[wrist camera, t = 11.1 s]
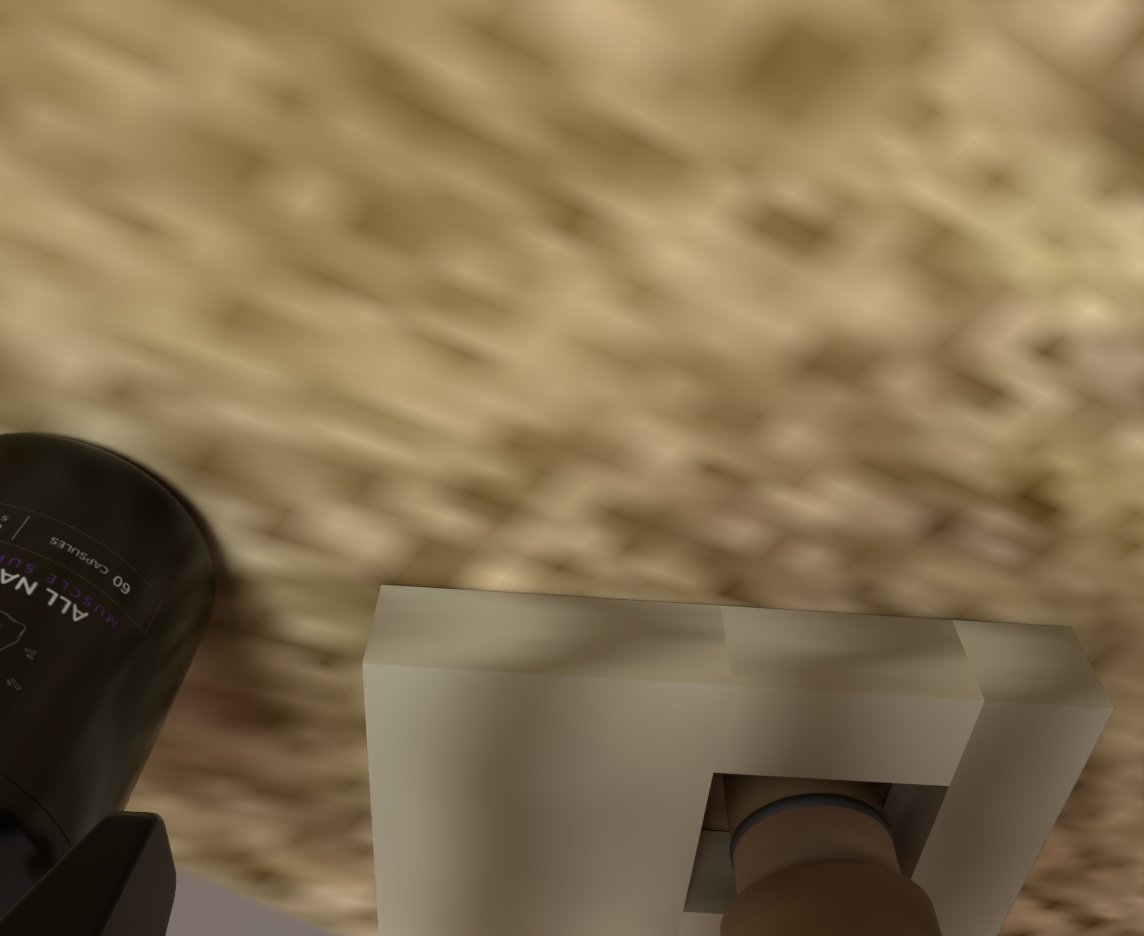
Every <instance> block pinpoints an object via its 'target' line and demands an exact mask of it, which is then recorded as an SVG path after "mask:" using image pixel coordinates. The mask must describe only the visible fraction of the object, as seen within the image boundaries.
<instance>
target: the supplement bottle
mask: <svg viewBox="0 0 1144 936" xmlns="http://www.w3.org/2000/svg"><path fill="white" fill-rule="evenodd" d="M215 587H216V584H215V572H214V566H213V562H212V558H211V555H210V552H209V549H208V546H207V544H206V542H205V539H204V537H203V535H202V533H201V532H200V530H199V528H198V526H197V525H196V523H195V522H194V520H193V519H192V517H191V516H190V515H189V513H188V512H187V510H186V509H185V508H184V507H183V506H182V505H181V503H180V502H179V501H178V500H177V499H176V498H175V497H174V496H173V495H172V494H171V493H170V492H169V491H168V490H167V489H166V488H165V487H164V486H162V485H161V484H160V483H159V482H158V481H157V480H155V479H154V478H152V477H151V476H150V475H148V474H147V473H146V472H144V471H143V470H141V469H140V468H138V467H136V466H135V465H133V464H132V463H130V462H128V461H126V460H124V459H122V458H120V457H119V456H117V455H114V454H112V453H110V452H108V451H105V450H103V449H100V448H98V447H95V446H92V445H90V444H87V443H83V442H80V441H76V440H73V439H68V438H63V437H58V436H51V435H44V434H31V433H12V434H1V435H0V919H1V918H2V917H3V916H4V915H5V914H6V913H7V912H8V911H9V910H10V909H11V908H12V907H13V906H14V905H15V904H16V903H17V902H18V901H19V900H20V899H21V898H22V897H23V896H24V895H25V894H26V893H27V892H28V891H29V890H30V889H31V888H32V887H33V886H34V885H35V884H36V883H37V882H38V881H39V880H40V879H41V878H42V877H43V876H44V875H45V874H46V873H47V872H48V871H49V870H50V869H51V868H52V867H53V866H54V865H55V864H56V863H57V862H58V861H59V860H60V859H61V858H62V857H63V856H64V855H65V854H66V853H67V852H68V851H69V850H71V849H72V848H73V847H74V846H75V845H76V844H77V843H78V842H79V841H80V840H81V839H82V838H83V837H84V836H85V835H86V834H87V833H88V832H89V831H90V830H91V829H92V828H93V827H94V826H95V825H96V824H97V823H98V822H99V821H100V820H101V819H102V818H103V817H105V816H106V815H108V814H110V813H112V812H116V811H124V809H125V807H126V805H127V803H128V801H129V798H130V796H131V794H132V792H133V790H134V787H135V785H136V783H137V781H138V779H139V776H140V774H141V772H142V770H143V768H144V766H145V763H146V761H147V759H148V757H149V755H150V752H151V750H152V748H153V746H154V744H155V741H156V739H157V737H158V735H159V733H160V730H161V728H162V726H163V724H164V722H165V719H166V717H167V715H168V713H169V711H170V708H171V706H172V704H173V702H174V700H175V697H176V695H177V693H178V691H179V689H180V686H181V684H182V682H183V680H184V678H185V675H186V673H187V671H188V669H189V667H190V664H191V662H192V660H193V658H194V656H195V653H196V651H197V648H198V646H199V644H200V641H201V639H202V637H203V634H204V632H205V630H206V627H207V625H208V622H209V619H210V616H211V613H212V610H213V605H214V601H215Z"/></svg>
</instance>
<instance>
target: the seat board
mask: <svg viewBox="0 0 1144 936" xmlns="http://www.w3.org/2000/svg"><path fill="white" fill-rule="evenodd" d="M362 667H363V684H364V700H365V717H366V733H367V750H368V767H369V783H370V800H371V816H372V833H373V849H374V866H375V883H376V899H377V916H378V932H379V936H720V925H721V920H722V917H723V915H724V913H725V911H726V909H727V908H728V906H729V905H730V904H731V902H732V901H733V900H734V899H735V898H736V897H737V888H736V880H735V873H734V871H733V868H732V865H731V857H730V833H729V832H723V831H705V830H701V827H702V823H703V818H704V813H705V809H706V804H707V800H708V795H709V791H710V786H711V781H712V777H713V773H728V774H746V775H763V776H781V777H798V778H816V779H833V780H850V781H868V782H885V783H892V786H891V788H890V791H889V794H888V796H887V799H886V802H885V805H884V807H883V809H884V813H885V816H886V820H887V821H888V823H889V825H890V828H891V830H892V834H893V838H894V842H895V853H896V857H897V861H898V864H899V868H900V872H901V875H903V876H905V877H907V878H909V879H910V880H912V881H913V882H915V883H916V884H917V885H919V886H920V887H921V888H922V889H923V890H924V891H925V892H926V893H927V895H928V896H929V898H930V899H931V901H932V904H933V907H934V909H935V913H936V916H937V920H938V923H939V927H940V930H941V933H942V936H997V935H998V933H999V931H1000V929H1001V927H1002V925H1003V923H1004V921H1005V919H1006V917H1007V915H1008V913H1009V911H1010V910H1011V908H1012V906H1013V904H1014V902H1015V900H1016V898H1017V896H1018V894H1019V892H1020V890H1021V888H1022V886H1023V884H1024V882H1025V880H1026V879H1027V877H1028V875H1029V873H1030V871H1031V869H1032V867H1033V865H1034V863H1035V861H1036V859H1037V857H1038V855H1039V853H1040V851H1041V849H1042V847H1043V846H1044V844H1045V842H1046V840H1047V838H1048V836H1049V834H1050V832H1051V830H1052V828H1053V826H1054V824H1055V822H1056V820H1057V818H1058V816H1059V814H1060V813H1061V811H1062V809H1063V807H1064V805H1065V803H1066V801H1067V799H1068V797H1069V795H1070V793H1071V791H1072V789H1073V787H1074V785H1075V783H1076V782H1077V780H1078V778H1079V776H1080V774H1081V772H1082V770H1083V768H1084V766H1085V764H1086V762H1087V760H1088V758H1089V756H1090V754H1091V752H1092V750H1093V749H1094V747H1095V745H1096V743H1097V741H1098V739H1099V737H1100V735H1101V733H1102V731H1103V729H1104V727H1105V725H1106V723H1107V721H1108V719H1109V717H1110V716H1111V714H1112V712H1113V710H1114V707H1113V705H1112V703H1111V701H1110V699H1109V697H1108V696H1107V694H1106V692H1105V690H1104V688H1103V686H1102V684H1101V682H1100V681H1099V679H1098V677H1097V675H1096V673H1095V671H1094V669H1093V667H1092V666H1091V664H1090V662H1089V660H1088V658H1087V656H1086V654H1085V652H1084V651H1083V649H1082V647H1081V645H1080V643H1079V641H1078V639H1077V637H1076V635H1075V634H1074V632H1073V630H1072V628H1071V627H1059V626H1043V625H1027V624H1011V623H995V622H978V621H962V620H946V619H930V618H913V617H897V616H881V615H865V614H848V613H832V612H816V611H800V610H783V609H767V608H751V607H735V606H718V605H702V604H686V603H670V602H653V601H637V600H621V599H605V598H588V597H572V596H556V595H540V594H523V593H507V592H491V591H475V590H458V589H442V588H426V587H410V586H393V585H381V589H380V593H379V597H378V601H377V605H376V609H375V614H374V618H373V622H372V626H371V630H370V634H369V638H368V642H367V646H366V650H365V654H364V658H363V663H362Z"/></svg>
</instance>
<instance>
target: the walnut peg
mask: <svg viewBox="0 0 1144 936" xmlns="http://www.w3.org/2000/svg"><path fill="white" fill-rule="evenodd" d="M722 777H723V785H724V793H725V801H726V809H727V817H728V825H729V833H730V857H731V865H732V868H733V871H734V873H735V880H736V888H737V897H736V898H735V899H734V900H733V901H732V902H731V904H730V905H729V906H728V908H727V909H726V911H725V913H724V915H723V917H722V920H721V925H720V936H942V933H941V930H940V927H939V923H938V920H937V916H936V913H935V909H934V907H933V904H932V901H931V899H930V898H929V896H928V895H927V893H926V892H925V891H924V890H923V889H922V888H921V887H920V886H919V885H917V884H916V883H915V882H913V881H912V880H910V879H909V878H907V877H905V876H903V875H901V872H900V868H899V864H898V861H897V857H896V853H895V842H894V838H893V834H892V830H891V828H890V825H889V823H888V821H887V820H886V816H885V813H884V809H883V805H882V801H881V798H880V794H879V790H878V787H877V783H876V782H868V781H850V780H833V779H816V778H798V777H781V776H763V775H746V774H728V773H722Z"/></svg>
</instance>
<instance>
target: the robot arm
mask: <svg viewBox="0 0 1144 936" xmlns="http://www.w3.org/2000/svg"><path fill="white" fill-rule="evenodd" d="M175 890H176V871H175V866H174V862H173V857H172V853H171V849H170V844H169V840H168V836H167V832H166V827H165V824H164V821H163V819H162V818H161V817H160V816H159V815H158V814H156V813H147V812H129V811H116V812H112V813H110V814H108V815H106V816H105V817H103V818H102V819H101V820H100V821H99V822H98V823H97V824H96V825H95V826H94V827H93V828H92V829H91V830H90V831H89V832H88V833H87V834H86V835H85V836H84V837H83V838H82V839H81V840H80V841H79V842H78V843H77V844H76V845H75V846H74V847H73V848H72V849H71V850H69V851H68V852H67V853H66V854H65V855H64V856H63V857H62V858H61V859H60V860H59V861H58V862H57V863H56V864H55V865H54V866H53V867H52V868H51V869H50V870H49V871H48V872H47V873H46V874H45V875H44V876H43V877H42V878H41V879H40V880H39V881H38V882H37V883H36V884H35V885H34V886H33V887H32V888H31V889H30V890H29V891H28V892H27V893H26V894H25V895H24V896H23V897H22V898H21V899H20V900H19V901H18V902H17V903H16V904H15V905H14V906H13V907H12V908H11V909H10V910H9V911H8V912H7V913H6V914H5V915H4V916H3V917H2V918H1V919H0V936H165V935H166V930H167V926H168V922H169V918H170V914H171V910H172V906H173V902H174V896H175Z"/></svg>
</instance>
